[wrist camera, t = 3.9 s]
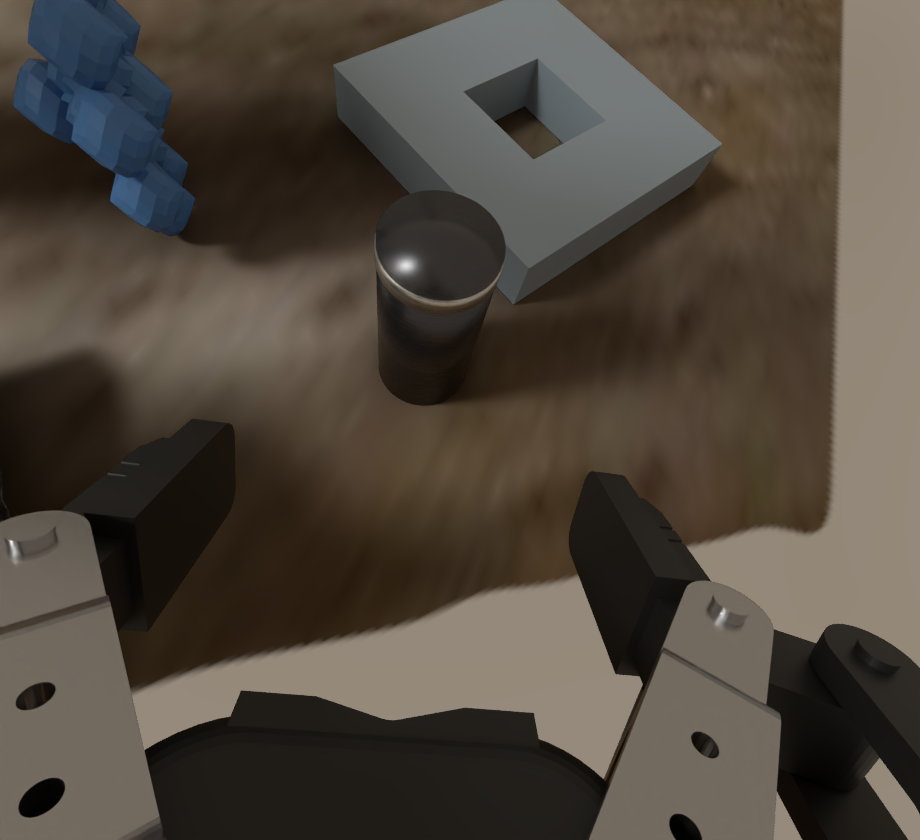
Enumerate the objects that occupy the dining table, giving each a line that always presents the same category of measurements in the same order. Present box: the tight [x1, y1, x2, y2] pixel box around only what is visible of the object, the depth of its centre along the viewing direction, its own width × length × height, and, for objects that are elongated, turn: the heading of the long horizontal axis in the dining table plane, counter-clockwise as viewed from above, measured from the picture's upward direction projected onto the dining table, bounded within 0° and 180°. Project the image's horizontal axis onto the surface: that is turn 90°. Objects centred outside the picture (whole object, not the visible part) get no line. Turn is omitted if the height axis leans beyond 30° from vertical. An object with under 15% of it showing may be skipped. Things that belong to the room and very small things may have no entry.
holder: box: [333, 0, 722, 305], centre depth 33 cm, size 18×18×3 cm
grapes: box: [13, 0, 195, 236], centre depth 23 cm, size 12×7×12 cm, turn 20°
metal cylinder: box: [374, 190, 506, 405], centre depth 23 cm, size 5×5×10 cm
